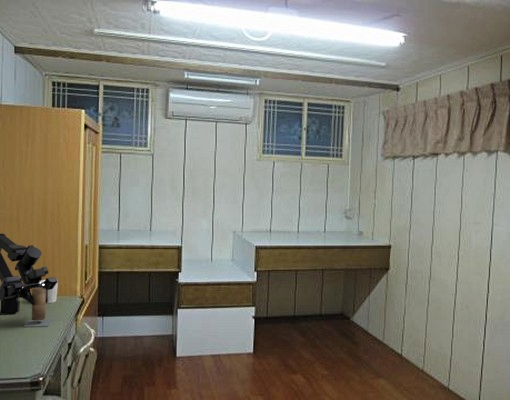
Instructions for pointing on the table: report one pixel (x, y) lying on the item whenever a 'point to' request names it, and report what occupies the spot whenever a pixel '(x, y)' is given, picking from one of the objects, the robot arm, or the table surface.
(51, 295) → the white cup
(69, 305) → the table surface
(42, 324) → the slate mat
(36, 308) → the walnut cylinder
